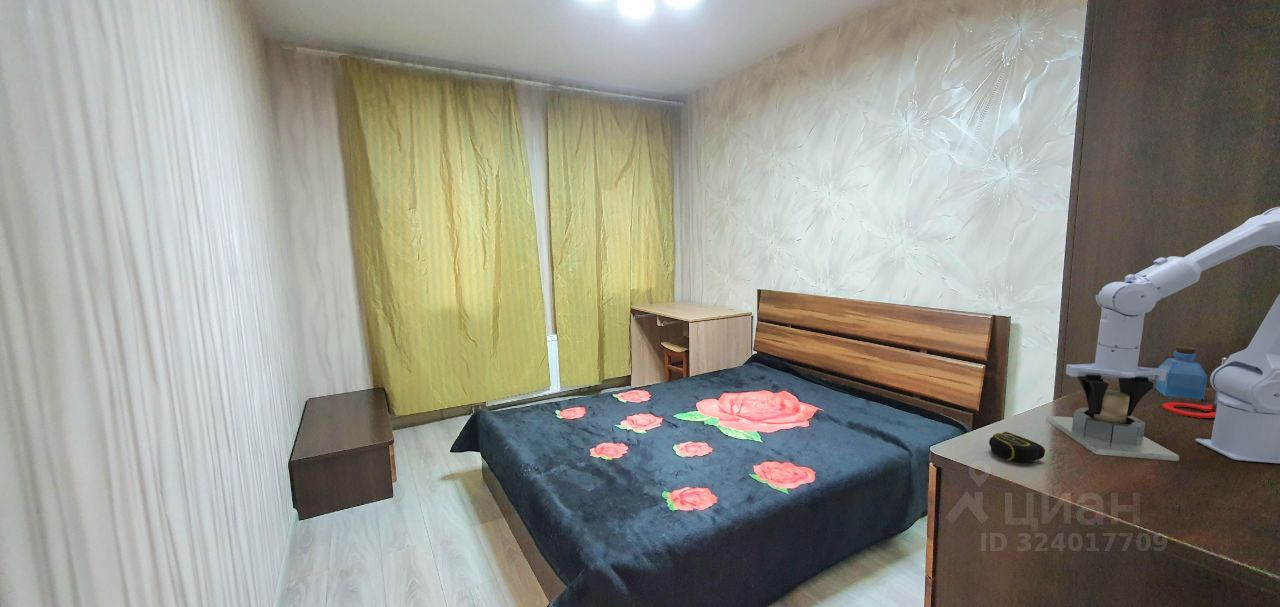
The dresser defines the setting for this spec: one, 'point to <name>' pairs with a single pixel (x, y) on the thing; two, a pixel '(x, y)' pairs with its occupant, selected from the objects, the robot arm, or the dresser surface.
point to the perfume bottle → (1183, 375)
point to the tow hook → (1195, 406)
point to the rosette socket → (1111, 436)
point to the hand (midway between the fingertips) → (1109, 413)
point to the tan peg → (1114, 407)
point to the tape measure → (1015, 448)
